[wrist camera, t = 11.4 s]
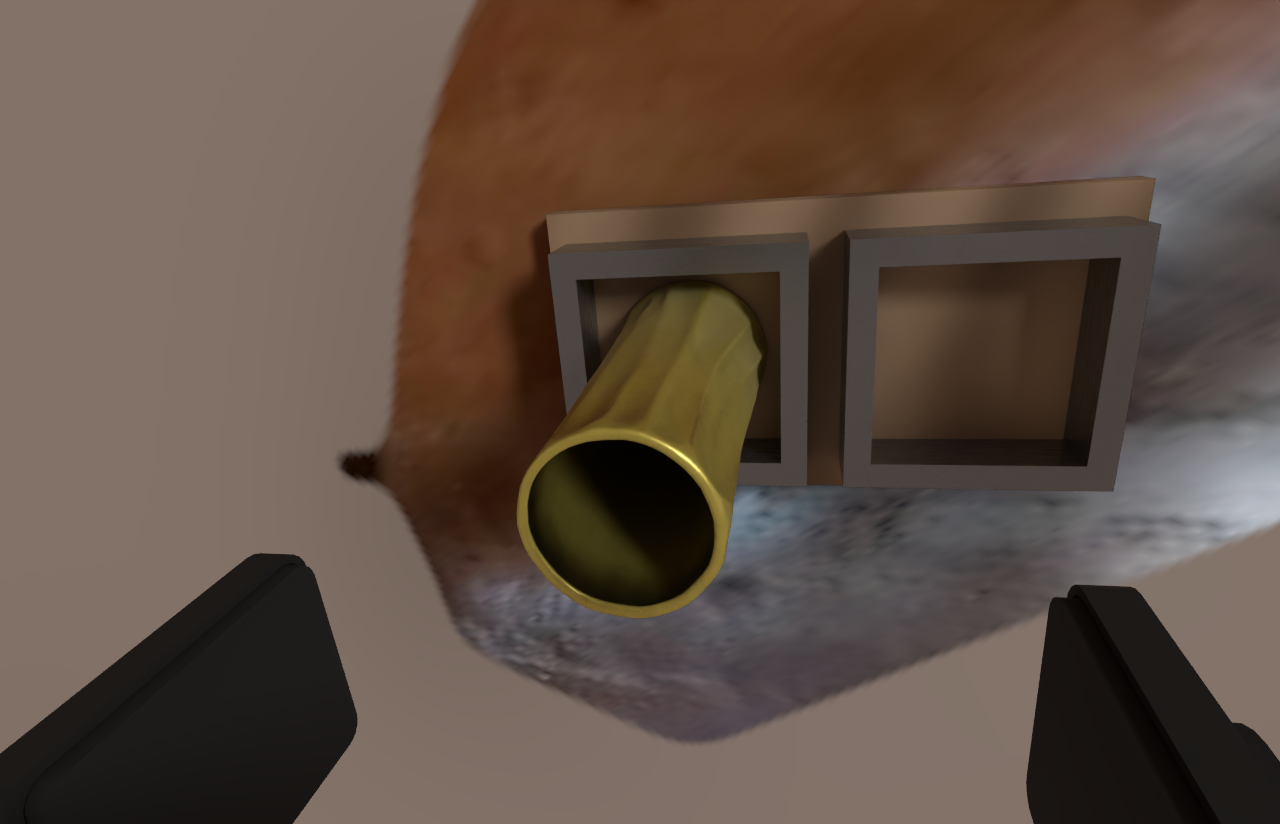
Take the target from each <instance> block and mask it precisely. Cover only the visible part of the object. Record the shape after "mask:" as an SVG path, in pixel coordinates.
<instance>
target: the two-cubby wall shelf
mask: <svg viewBox="0 0 1280 824" xmlns="http://www.w3.org/2000/svg"><path fill="white" fill-rule="evenodd" d="M1160 229H1161V224H1157V223H1154V222H1150V221H1146V220H1142V219H1139V218H1135V217H1131V216H1108V217H1088V218H1069V219H1049V220H1030V221H1010V222H991V223H971V224H952V225H932V226H912V227H893V228H873V229H854V230H845V241H844V279H843V317H842V355H841V393H840V431H839V465H840V471H841V477H842V483H843V487H876V488H935V489H995V490H1054V491H1113V490H1114V485H1115V479H1116V473H1117V468H1118V462H1119V457H1120V451H1121V446H1122V440H1123V435H1124V429H1125V423H1126V418H1127V412H1128V407H1129V401H1130V396H1131V390H1132V385H1133V379H1134V373H1135V368H1136V362H1137V357H1138V351H1139V346H1140V340H1141V335H1142V329H1143V323H1144V318H1145V312H1146V307H1147V301H1148V296H1149V290H1150V285H1151V279H1152V273H1153V268H1154V262H1155V257H1156V251H1157V246H1158V240H1159V235H1160ZM1070 259H1090V260H1089V267H1088V274H1087V281H1086V288H1085V294H1084V301H1083V308H1082V315H1081V321H1080V328H1079V335H1078V342H1077V349H1076V355H1075V362H1074V369H1073V376H1072V382H1071V389H1070V396H1069V403H1068V409H1067V416H1066V423H1065V430H1064V437H1063V439H872V422H873V399H874V376H875V353H876V330H877V308H878V285H879V267H899V266H924V265H948V264H973V263H997V262H1021V261H1046V260H1070ZM548 262H549V271H550V279H551V287H552V296H553V304H554V312H555V321H556V329H557V337H558V346H559V354H560V362H561V371H562V379H563V387H564V396H565V404H566V412H567V414H568V412H569V411H570V409H571V408H572V406H573V405H574V403H575V402H576V400H577V399H578V397H579V396H580V394H581V393H582V391H583V389H584V388H585V386H586V385H587V383H588V382H589V380H590V379H591V377H592V376H593V375H594V373H595V372H596V371H597V369H598V368H599V366H600V365H601V354H600V344H599V334H598V324H597V314H596V304H595V293H594V283H593V279H607V278H631V277H655V276H680V275H704V274H729V273H753V272H777V271H780V356H781V438H745V439H744V442H743V446H742V450H741V456H740V465H739V471H738V477H737V484H736V485H757V486H807V404H808V292H809V240H808V235H807V232H795V233H776V234H756V235H737V236H717V237H698V238H678V239H659V240H639V241H620V242H600V243H581V244H565V245H564V246H562V247H560V248H558V249H556V250H555V251H553V252H551V253H549V254H548Z"/></svg>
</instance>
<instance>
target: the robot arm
mask: <svg viewBox="0 0 1280 824" xmlns="http://www.w3.org/2000/svg"><path fill="white" fill-rule="evenodd" d="M356 728H357V713H356V709H355V706H354V703H353V700H352V697H351V693H350V690H349V686H348V683H347V680H346V677H345V673H344V670H343V667H342V663H341V660H340V657H339V653H338V650H337V647H336V644H335V640H334V637H333V634H332V631H331V627H330V624H329V621H328V617H327V614H326V611H325V607H324V604H323V601H322V598H321V594H320V591H319V588H318V584H317V581H316V578H315V575H314V573H313V571H312V570H311V569H310V568H309V567H307V566H306V565H305V562H304V561H303V560H302V559H301V558H300V557H299V556H296V555H289V554H288V555H287V554H262V553H260V554H253V555H252V556H250V557H248V558H246V559H245V560H244V561H243V562H242V563H240V564H239V565H238V566H236V567H235V568H234V569H233V570H231V571H230V572H229V573H228V574H226V575H225V576H224V577H222V578H221V579H220V580H219V581H217V582H216V583H215V584H214V585H212V586H211V587H210V588H209V589H207V590H206V591H205V592H204V593H202V594H201V595H200V596H199V597H197V598H196V599H195V600H193V601H192V602H191V603H190V604H188V605H187V606H186V607H185V608H183V609H182V610H181V611H180V612H178V613H177V614H176V615H175V616H173V617H172V618H171V619H170V620H168V621H167V622H166V623H164V624H163V625H162V626H161V627H159V628H158V629H157V630H156V631H154V632H153V633H152V634H151V635H149V636H148V637H147V638H146V639H144V640H143V641H142V642H141V643H139V644H138V645H137V646H136V647H134V648H133V649H132V650H131V651H129V652H128V653H127V654H125V655H124V656H123V657H122V658H120V659H119V660H118V661H117V662H115V663H114V664H113V665H112V666H110V667H109V668H108V669H106V670H105V671H104V672H103V673H101V674H100V675H99V676H98V677H97V678H95V679H94V680H93V681H91V682H90V683H89V684H88V685H86V686H85V687H84V688H82V689H81V690H80V691H79V692H77V693H76V694H75V695H74V696H72V697H71V698H70V699H69V700H67V701H66V702H65V703H64V704H62V705H61V706H60V707H59V708H57V709H56V710H55V711H54V712H52V713H51V714H50V715H48V716H47V717H46V718H45V719H44V720H42V721H41V722H40V723H38V724H37V725H36V726H35V727H33V728H32V729H31V730H30V731H28V732H27V733H26V734H25V735H23V736H22V737H21V738H20V739H18V740H17V741H16V742H14V743H13V744H12V745H11V746H9V747H8V748H7V749H6V750H4V751H3V752H2V753H1V754H0V824H293V822H294V821H295V820H296V818H297V817H298V816H299V814H300V813H301V811H302V810H303V809H304V807H305V806H306V804H307V803H308V802H309V800H310V799H311V797H312V796H313V795H314V793H315V792H316V791H317V789H318V788H319V787H320V785H321V784H322V782H323V781H324V780H325V778H326V777H327V775H328V774H329V773H330V771H331V770H332V769H333V767H334V766H335V764H336V763H337V761H338V760H339V759H340V757H341V756H342V755H343V753H344V752H345V751H346V749H347V748H348V746H349V745H350V743H351V742H352V740H353V737H354V735H355V733H356ZM1026 784H1027V797H1028V804H1029V809H1030V813H1031V816H1032V819H1033V822H1034V824H1280V761H1279V760H1278V759H1277V757H1276V756H1275V755H1274V753H1273V752H1272V751H1271V750H1270V748H1269V747H1268V745H1267V744H1266V743H1265V742H1264V741H1263V740H1262V739H1261V738H1260V736H1259V735H1258V734H1257V733H1256V732H1255V731H1254V730H1252V729H1250V728H1249V727H1247V726H1245V725H1243V724H1242V723H1232V722H1231V721H1230V719H1229V718H1228V717H1227V715H1226V714H1225V712H1224V711H1223V709H1222V708H1221V707H1220V705H1219V704H1218V702H1217V701H1216V700H1215V698H1214V697H1213V695H1212V694H1211V693H1210V691H1209V690H1208V688H1207V687H1206V685H1205V684H1204V683H1203V681H1202V680H1201V678H1200V677H1199V675H1198V674H1197V673H1196V671H1195V670H1194V668H1193V667H1192V666H1191V664H1190V663H1189V661H1188V660H1187V659H1186V657H1185V656H1184V654H1183V653H1182V652H1181V650H1180V649H1179V647H1178V646H1177V645H1176V643H1175V642H1174V640H1173V639H1172V637H1171V636H1170V634H1169V633H1168V632H1167V630H1166V629H1165V627H1164V626H1163V625H1162V623H1161V622H1160V620H1159V619H1158V618H1157V616H1156V615H1155V613H1154V612H1153V610H1152V609H1151V608H1150V606H1149V605H1148V603H1147V602H1146V601H1145V599H1144V598H1143V596H1142V595H1141V594H1140V593H1139V592H1138V591H1137V590H1136V589H1135V588H1132V587H1121V586H1095V585H1074V586H1072V587H1071V588H1070V590H1069V592H1068V596H1067V598H1058V597H1055V598H1053V599H1052V601H1051V603H1050V607H1049V612H1048V620H1047V627H1046V635H1045V643H1044V651H1043V658H1042V666H1041V673H1040V681H1039V688H1038V695H1037V703H1036V710H1035V718H1034V725H1033V733H1032V741H1031V748H1030V756H1029V763H1028V771H1027V782H1026Z"/></svg>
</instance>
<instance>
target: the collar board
mask: <svg viewBox="0 0 1280 824" xmlns="http://www.w3.org/2000/svg"><path fill="white" fill-rule="evenodd" d="M1155 180H1156V178H1149V177H1142V176H1135V177H1118V178H1102V179H1085V180H1069V181H1053V182H1036V183H1020V184H1003V185H987V186H970V187H954V188H937V189H921V190H904V191H888V192H871V193H855V194H839V195H822V196H806V197H789V198H773V199H756V200H740V201H723V202H707V203H690V204H674V205H657V206H641V207H625V208H608V209H592V210H575V211H559V212H553V213H550V214H547V215H546V220H547V228H548V236H549V245H550V253H551V252H553V251H555V250H556V249H558V248H560V247H562V246H564V245H565V244H581V243H600V242H620V241H639V240H659V239H678V238H698V237H717V236H737V235H756V234H776V233H795V232H807V235H808V240H809V292H808V404H807V485H843V483H842V477H841V471H840V465H839V431H840V393H841V355H842V317H843V279H844V241H845V230H854V229H873V228H893V227H912V226H932V225H952V224H971V223H991V222H1010V221H1030V220H1049V219H1069V218H1088V217H1108V216H1131V217H1135V218H1139V219H1142V220H1146V221H1148V220H1149V215H1150V209H1151V203H1152V197H1153V192H1154V186H1155ZM1089 260H1090V259H1070V260H1046V261H1021V262H997V263H973V264H948V265H924V266H899V267H879V285H878V308H877V330H876V353H875V376H874V399H873V422H872V439H1063V437H1064V430H1065V423H1066V416H1067V409H1068V403H1069V396H1070V389H1071V382H1072V376H1073V369H1074V362H1075V355H1076V349H1077V342H1078V335H1079V328H1080V321H1081V315H1082V308H1083V301H1084V294H1085V288H1086V281H1087V274H1088V267H1089ZM680 281H702V282H708V283H712V284H716V285H718V286H720V287H723V288H724V289H726V290H728V291H730V292H731V293H733V294H734V295H736V296H737V297H739V298H740V299H741V300H742V301H743V302H744V303H745V304H746V305H747V306H748V307H749V308H750V309H751V311H752V312H753V314H754V315H755V317H756V319H757V321H758V322H759V324H760V326H761V329H762V331H763V334H764V337H765V341H766V346H767V358H766V365H765V370H764V374H763V377H762V380H761V383H760V385H759V388H758V391H757V396H756V401H755V404H754V407H753V410H752V414H751V418H750V421H749V424H748V428H747V431H746V435H745V438H781V356H780V271H777V272H753V273H729V274H704V275H680V276H655V277H631V278H607V279H593V283H594V293H595V304H596V314H597V324H598V334H599V344H600V354H601V363H602V362H603V360H604V359H605V357H606V356H607V354H608V352H609V351H610V349H611V348H612V346H613V344H614V343H615V341H616V339H617V338H618V336H619V335H620V333H621V332H622V330H623V328H624V325H625V323H626V320H627V318H628V316H629V314H630V313H631V311H632V309H633V308H634V307H635V306H636V305H637V304H638V303H639V302H640V301H641V300H642V299H643V298H644V297H645V296H647V295H648V294H649V293H651V292H652V291H654V290H656V289H658V288H659V287H662V286H664V285H667V284H670V283H674V282H680Z"/></svg>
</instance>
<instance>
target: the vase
mask: <svg viewBox="0 0 1280 824" xmlns="http://www.w3.org/2000/svg"><path fill="white" fill-rule="evenodd" d="M766 358H767V346H766V341H765V337H764V334H763V331H762V329H761V326H760V324H759V322H758V321H757V319H756V317H755V315H754V314H753V312H752V311H751V309H750V308H749V307H748V306H747V305H746V304H745V303H744V302H743V301H742V300H741V299H740V298H739V297H737V296H736V295H734V294H733V293H731V292H730V291H728V290H726V289H724V288H723V287H720V286H718V285H716V284H712V283H708V282H702V281H680V282H674V283H670V284H667V285H664V286H662V287H659V288H658V289H656V290H654V291H652V292H651V293H649V294H648V295H647V296H645V297H644V298H643V299H642V300H641V301H640V302H639V303H638V304H637V305H636V306H635V307H634V308H633V309H632V311H631V313H630V314H629V316H628V318H627V320H626V323H625V325H624V328H623V330H622V332H621V333H620V335H619V336H618V338H617V339H616V341H615V343H614V344H613V346H612V348H611V349H610V351H609V352H608V354H607V356H606V357H605V359H604V360H603V362H602V363H601V365H600V366H599V368H598V369H597V371H596V372H595V373H594V375H593V376H592V377H591V379H590V380H589V382H588V383H587V385H586V386H585V388H584V389H583V391H582V393H581V394H580V396H579V397H578V399H577V400H576V402H575V403H574V405H573V406H572V408H571V409H570V411H569V412H568V414H567V415H566V416H565V418H564V419H563V421H562V422H561V424H560V425H559V426H558V428H557V429H556V431H555V432H554V433H553V435H552V436H551V438H550V439H549V440H548V442H547V443H546V444H545V445H544V447H543V448H542V449H541V451H540V452H539V453H538V455H537V456H536V457H535V459H534V460H533V461H532V463H531V464H530V465H529V467H528V469H527V471H526V472H525V474H524V476H523V479H522V482H521V485H520V489H519V495H518V502H517V526H518V530H519V534H520V537H521V540H522V542H523V545H524V547H525V549H526V551H527V553H528V555H529V556H530V558H531V559H532V560H533V562H534V563H535V564H536V566H537V567H538V568H539V570H540V571H541V572H542V574H543V575H544V576H545V577H546V578H547V579H548V581H549V582H550V583H551V584H552V585H553V586H554V587H556V588H557V589H558V590H559V591H560V592H562V593H563V594H565V595H566V596H568V597H569V598H570V599H572V600H573V601H575V602H576V603H578V604H580V605H582V606H584V607H586V608H589V609H591V610H593V611H597V612H601V613H605V614H610V615H616V616H622V617H628V618H649V617H656V616H660V615H664V614H667V613H670V612H673V611H676V610H678V609H680V608H682V607H684V606H686V605H688V604H689V603H690V602H692V601H693V600H694V599H696V598H697V597H698V596H699V595H700V594H701V593H702V592H703V591H704V590H705V589H706V587H707V586H708V585H709V584H710V583H711V582H712V581H713V579H714V578H715V577H716V575H717V574H718V573H719V571H720V569H721V567H722V565H723V563H724V561H725V557H726V549H727V543H728V537H729V532H730V528H731V520H732V514H733V501H734V496H735V491H736V484H737V477H738V471H739V465H740V456H741V450H742V446H743V442H744V439H745V435H746V431H747V428H748V424H749V421H750V418H751V414H752V410H753V407H754V404H755V401H756V396H757V391H758V388H759V385H760V383H761V380H762V377H763V374H764V370H765V365H766Z"/></svg>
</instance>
